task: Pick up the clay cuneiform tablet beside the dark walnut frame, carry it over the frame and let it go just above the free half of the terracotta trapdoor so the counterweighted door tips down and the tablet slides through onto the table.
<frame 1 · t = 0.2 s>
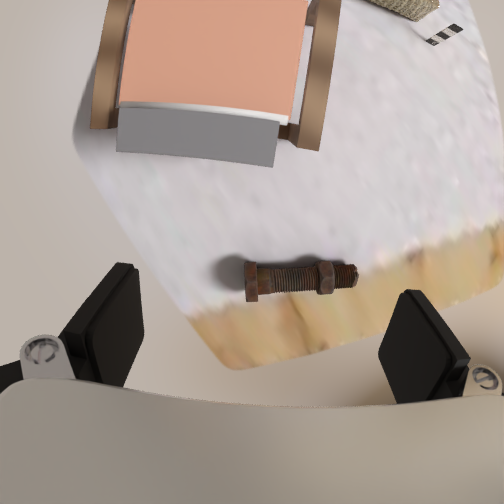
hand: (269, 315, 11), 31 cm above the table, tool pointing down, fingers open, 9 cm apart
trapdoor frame: (222, 63, 33), on the table
cuneiform tablet: (398, 12, 29), on the table
bolt: (299, 271, 45), on the table
trapdoor: (207, 68, 25), point 10 cm above the table, hinge at 0.0°
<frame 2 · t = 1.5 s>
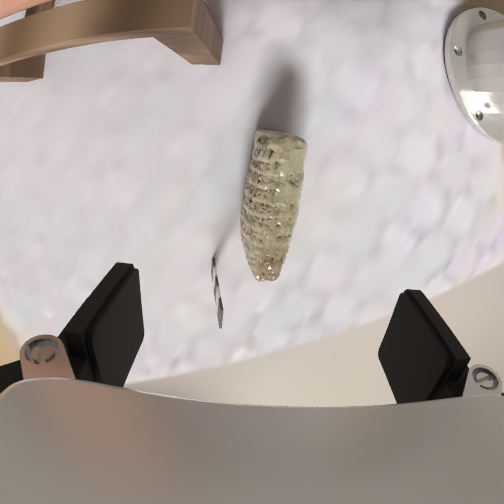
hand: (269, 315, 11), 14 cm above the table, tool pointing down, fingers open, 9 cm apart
cuneiform tablet: (252, 206, 24), on the table
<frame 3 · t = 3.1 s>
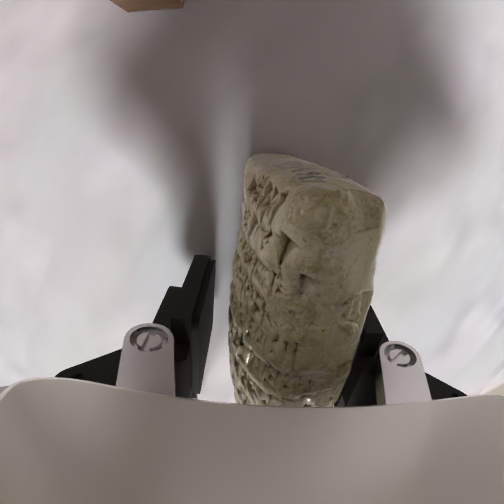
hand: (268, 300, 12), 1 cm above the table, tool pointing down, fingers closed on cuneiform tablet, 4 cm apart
cuneiform tablet: (252, 300, 13), on the table, touching gripper
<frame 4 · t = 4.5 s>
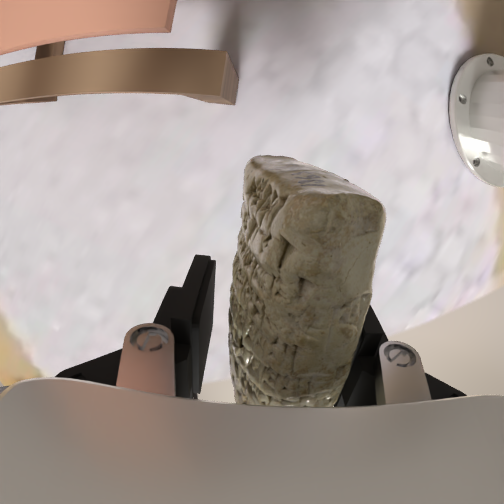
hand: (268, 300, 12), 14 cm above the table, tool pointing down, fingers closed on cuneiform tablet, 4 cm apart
cuneiform tablet: (252, 302, 13), point 13 cm above the table, touching gripper
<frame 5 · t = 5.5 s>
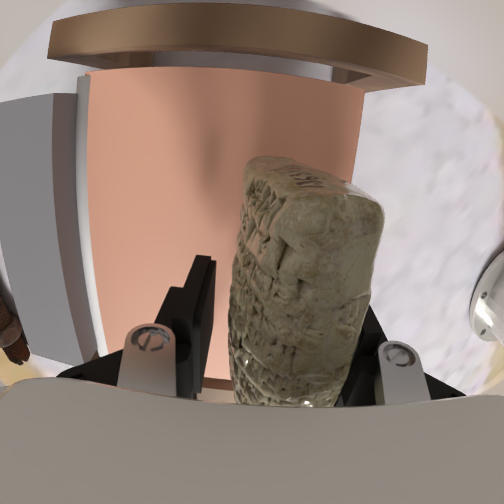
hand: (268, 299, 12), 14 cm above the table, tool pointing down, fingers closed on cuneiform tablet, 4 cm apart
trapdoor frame: (225, 194, 24), on the table
cuneiform tablet: (252, 302, 13), point 13 cm above the table, touching gripper
bolt: (4, 297, 29), on the table
trapdoor: (160, 242, 15), point 10 cm above the table, hinge at 0.0°
when the fingers open (13 cm above the table, at t = 5.7 s): cuneiform tablet drops 6 cm, point 7 cm above the table.
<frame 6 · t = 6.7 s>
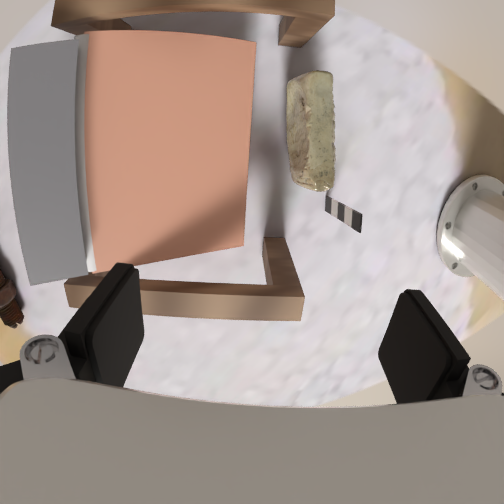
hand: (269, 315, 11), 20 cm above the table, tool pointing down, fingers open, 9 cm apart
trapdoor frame: (193, 138, 27), on the table
cuneiform tablet: (329, 151, 21), point 7 cm above the table
trapdoor: (137, 149, 19), point 8 cm above the table, hinge at -29.0°
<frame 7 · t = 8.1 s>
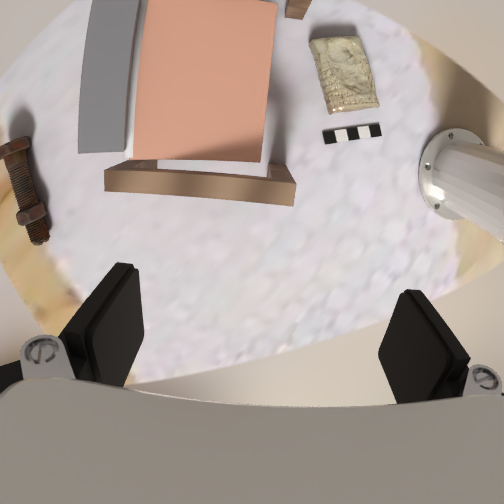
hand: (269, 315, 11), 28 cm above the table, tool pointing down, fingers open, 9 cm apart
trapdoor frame: (216, 82, 32), on the table
cuneiform tablet: (374, 83, 30), point 2 cm above the table
bolt: (34, 188, 38), on the table
trapdoor: (178, 72, 24), point 9 cm above the table, hinge at -16.4°
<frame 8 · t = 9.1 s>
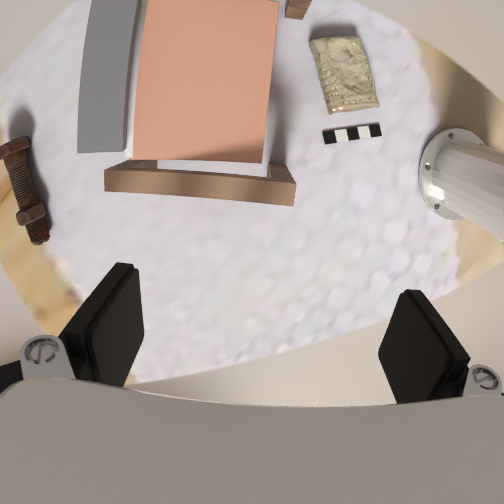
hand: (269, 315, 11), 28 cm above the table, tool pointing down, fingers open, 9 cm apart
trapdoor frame: (216, 82, 32), on the table
cuneiform tablet: (374, 83, 30), point 2 cm above the table
bolt: (34, 188, 38), on the table
trapdoor: (178, 71, 24), point 9 cm above the table, hinge at -13.8°
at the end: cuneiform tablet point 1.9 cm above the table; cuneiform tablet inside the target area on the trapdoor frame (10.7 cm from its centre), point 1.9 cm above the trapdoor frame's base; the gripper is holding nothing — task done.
